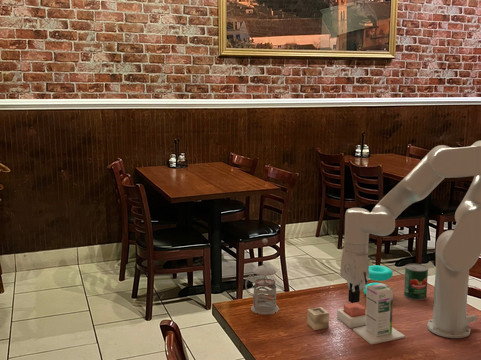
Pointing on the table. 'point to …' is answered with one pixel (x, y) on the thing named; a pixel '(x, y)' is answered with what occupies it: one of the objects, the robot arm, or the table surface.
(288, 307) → the table surface
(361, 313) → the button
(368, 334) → the grey pad
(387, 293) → the syrup box
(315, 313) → the letter cube
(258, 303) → the french press
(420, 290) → the canned tomato
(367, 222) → the robot arm
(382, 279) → the donuts
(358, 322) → the button housing
